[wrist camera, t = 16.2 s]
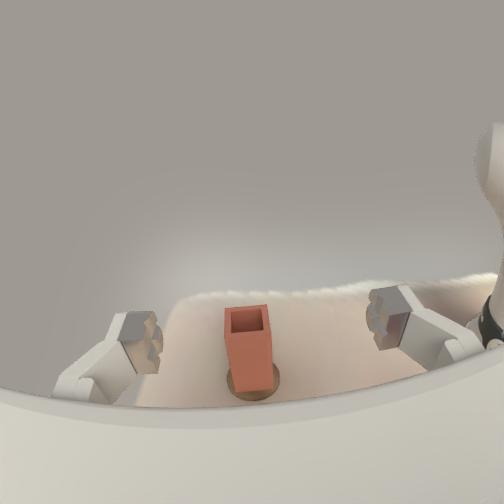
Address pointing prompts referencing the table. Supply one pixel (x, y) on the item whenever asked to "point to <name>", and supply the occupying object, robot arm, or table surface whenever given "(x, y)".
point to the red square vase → (249, 347)
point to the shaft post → (254, 394)
